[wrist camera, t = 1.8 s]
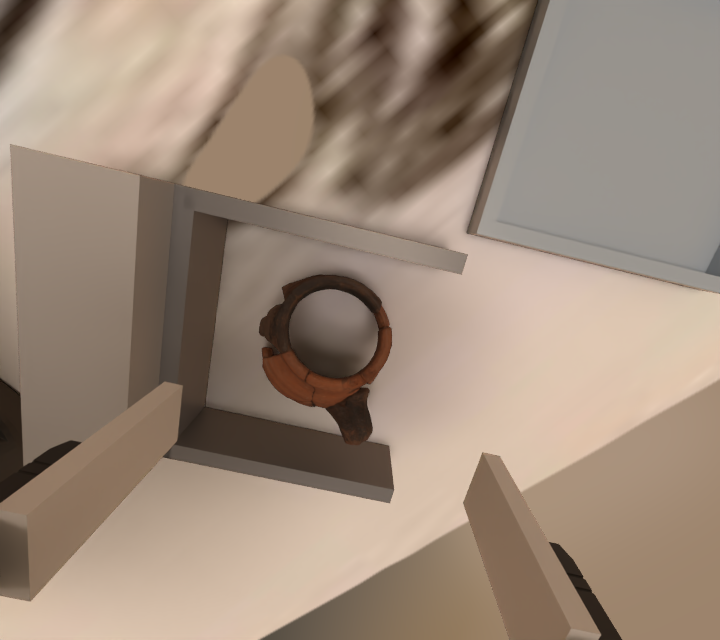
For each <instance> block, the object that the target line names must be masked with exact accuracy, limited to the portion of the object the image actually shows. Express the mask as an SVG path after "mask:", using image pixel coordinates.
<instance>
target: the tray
mask: <svg viewBox="0 0 720 640" xmlns="http://www.w3.org/2000/svg"><path fill="white" fill-rule="evenodd" d="M467 233H468V234H472V235H476V236H480V237H484V238H488V239H493V240H497V241H501V242H505V243H509V244H513V245H517V246H521V247H525V248H529V249H533V250H538V251H542V252H546V253H550V254H554V255H558V256H562V257H566V258H570V259H574V260H578V261H583V262H587V263H591V264H595V265H599V266H603V267H607V268H611V269H615V270H619V271H623V272H628V273H632V274H636V275H640V276H644V277H648V278H652V279H656V280H660V281H664V282H668V283H673V284H677V285H681V286H685V287H689V288H693V289H697V290H702V291H707V292H713V293H718V294H720V0H538V3H537V6H536V9H535V13H534V16H533V19H532V22H531V26H530V29H529V32H528V35H527V39H526V42H525V45H524V48H523V52H522V55H521V58H520V61H519V65H518V68H517V71H516V74H515V78H514V81H513V84H512V87H511V91H510V94H509V97H508V100H507V104H506V107H505V110H504V113H503V117H502V120H501V123H500V126H499V130H498V133H497V136H496V139H495V143H494V146H493V149H492V152H491V156H490V159H489V162H488V165H487V169H486V172H485V175H484V178H483V182H482V185H481V188H480V191H479V195H478V198H477V201H476V204H475V208H474V211H473V214H472V217H471V221H470V224H469V227H468V230H467Z"/></svg>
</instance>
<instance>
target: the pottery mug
mask: <svg viewBox="0 0 720 640" xmlns="http://www.w3.org/2000/svg"><path fill="white" fill-rule="evenodd" d="M325 289H337V290H340V291H344V292H347V293H349V294H352V295H354V296H355V297H357V298H358V299H359V300H361V301H362V302H363V303H364V304H365V305H366V306H367V307H368V308H369V309H370V311H371V312H372V313H373V314H374V316H375V318H376V321H377V324H378V328H379V331H378V343H377V348H376V351H375V353H374V356H373V357H372V359H371V361H370V362H369V363H368V364H367V366H366V367H365V368H363V369H362V370H360V371H359V372H358V373H357V374H354V375H352V376H349V377H344V378H328V377H324V376H321V375H318V374H316V373H314V372H313V371H311V370H310V369H308V368H307V367H306V366H305V365H304V364H303V363H302V362H301V361H300V360H299V359H298V357H297V356H296V354H295V352H294V350H293V349H292V347H291V344H290V339H289V323H290V319H291V315H292V313H293V311H294V309H295V307H296V306H297V304H298V303H299V302H300V301H301V300H302V299H303V298H305V297H306V296H308V295H309V294H311V293H313V292H316V291H320V290H325ZM282 290H283V294H284V298H285V301H284V302H283V304H280V305H276V306H275V307H273V308H272V309H271V310H270V311H269V312H268V314H267V316H266V317H264V318H262V320H261V322H260V328H259V334H260V335H261V336H264V337H265V338H266V339H267V341H268V342H270V343H271V344H272V345H273V346H274V347H275V348H276V349H277V350H278V351H279V352H280V353H279V354H277V355H273V352H272V349H271V348H267V347H264V348H262V356H263V359H262V360H263V369H264V371H265V373H266V376H267V378H268V380H269V381H270V382H271V384H272V385H273V386H274V387H275V388H276V389H277V390H278V391H279V392H280V393H281V394H283V395H284V396H286V397H287V398H290V399H292V400H294V401H296V402H298V403H300V404H303V405H306V406H310V407H315V406H318V407H322V408H325V409H326V410H327V411H328V412H329V413H330V414H331V415H332V417H333V418H334V419H335V421H336V422H337V424H338V425H339V428H340V431H341V433H342V436H343V439H344V441H345V443H346V444H349V445H360V444H361V443H362V442H364V441H366V440H368V438H369V436H370V435H371V433H372V430H373V427H372V422H371V417H370V413H369V410H368V407H367V397H368V394H369V389H368V388H360V387H361V386H363V385H365V384H366V383H367V384H371V383H372V382H373V381H374V379H375V378H376V376H377V374H378V373H379V371H380V370H381V369H382V367H383V366H384V364H385V363H386V361H387V358H388V356H389V353H390V349H391V346H392V330H391V328H390V327H389V320H388V318H387V315H386V313H385V311H384V309H383V307H382V302H381V300H380V299H379V297H378V296H376V294H375V293H374V292H373V291H371V290H370V289H368V288H367V287H366V286H365V285H363V284H362V283H360V282H358V281H356V280H354V279H350V278H347V277H341V276H337V275H316V276H311V277H308V278H305V279H302V280H299V281H296V282H293V283H289V284H287V285H285V286H283V287H282Z"/></svg>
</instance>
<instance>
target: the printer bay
mask: <svg viewBox="0 0 720 640" xmlns="http://www.w3.org/2000/svg"><path fill="white" fill-rule="evenodd" d="M10 151H11V175H12V199H13V224H14V248H15V272H16V296H17V321H18V345H19V369H20V393H21V417H22V442H23V466H25V465H27V464H28V463H32V461H33V460H34V459H35V458H37V457H38V456H40V455H41V454H43V453H44V452H46V451H47V450H49V449H50V448H52V447H55V446H57V445H60V444H62V443H65V442H67V441H69V440H73V441H78V442H84V441H85V440H86V439H88V438H89V437H90V436H92V435H93V434H94V433H96V432H97V431H99V430H100V429H101V428H103V427H104V426H105V425H107V424H108V423H109V422H111V421H112V420H113V419H115V418H116V417H117V416H119V415H120V414H121V413H123V412H124V411H126V410H127V409H128V408H130V407H131V406H132V405H134V404H135V403H136V402H138V401H139V400H140V399H142V398H143V397H144V396H146V395H147V394H149V393H150V392H151V391H153V390H154V389H155V388H157V387H158V386H159V385H161V384H162V383H163V382H169V383H174V384H178V385H183V388H182V398H181V408H180V418H179V428H178V438H177V442H176V443H175V444H174V445H173V446H172V447H171V448H170V449H169V450H168V451H167V453H166V454H165V455H164V456H163V457H165V458H170V459H175V460H179V461H184V462H189V463H194V464H199V465H204V466H209V467H214V468H219V469H224V470H229V471H234V472H239V473H243V474H248V475H253V476H258V477H263V478H268V479H273V480H278V481H283V482H288V483H293V484H298V485H302V486H307V487H312V488H317V489H322V490H327V491H332V492H337V493H342V494H347V495H352V496H357V497H362V498H366V499H371V500H376V501H381V502H386V503H390V501H391V498H392V495H393V492H394V485H393V476H392V467H391V458H390V449H389V446H387V445H382V444H377V443H372V442H368V441H364V442H362V443H361V444H360V445H349V444H346V443H345V441H344V439H343V436H339V435H334V434H330V433H325V432H320V431H316V430H311V429H306V428H301V427H297V426H292V425H287V424H282V423H278V422H273V421H268V420H264V419H259V418H254V417H249V416H245V415H240V414H235V413H230V412H226V411H221V410H216V409H211V408H207V407H205V402H206V394H207V385H208V377H209V369H210V361H211V353H212V345H213V336H214V328H215V320H216V312H217V304H218V295H219V287H220V279H221V271H222V263H223V255H224V246H225V238H226V230H227V222H228V219H231V220H235V221H239V222H243V223H247V224H252V225H256V226H260V227H264V228H268V229H273V230H277V231H281V232H285V233H289V234H294V235H298V236H302V237H306V238H310V239H315V240H319V241H323V242H327V243H331V244H335V245H340V246H344V247H348V248H352V249H356V250H361V251H365V252H369V253H373V254H377V255H382V256H386V257H390V258H394V259H398V260H403V261H407V262H411V263H415V264H419V265H424V266H428V267H432V268H436V269H440V270H445V271H449V272H453V273H457V274H461V275H462V272H463V268H464V265H465V262H466V259H467V256H468V254H464V253H460V252H456V251H452V250H448V249H444V248H440V247H436V246H432V245H427V244H423V243H419V242H415V241H411V240H407V239H403V238H398V237H394V236H390V235H386V234H382V233H378V232H374V231H369V230H365V229H361V228H357V227H353V226H349V225H345V224H340V223H336V222H332V221H328V220H324V219H320V218H316V217H311V216H307V215H303V214H299V213H295V212H291V211H287V210H282V209H278V208H274V207H270V206H266V205H262V204H258V203H253V202H249V201H245V200H241V199H237V198H233V197H228V196H224V195H220V194H216V193H212V192H208V191H203V190H199V189H195V188H191V187H187V186H183V185H179V184H175V183H171V182H166V181H162V180H158V179H154V178H150V177H146V176H142V175H137V174H133V173H129V172H125V171H121V170H117V169H112V168H108V167H104V166H100V165H95V164H91V163H87V162H83V161H79V160H74V159H70V158H66V157H62V156H58V155H53V154H49V153H45V152H41V151H37V150H32V149H28V148H24V147H20V146H15V145H11V144H10Z"/></svg>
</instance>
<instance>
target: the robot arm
mask: <svg viewBox="0 0 720 640" xmlns="http://www.w3.org/2000/svg"><path fill="white" fill-rule="evenodd" d="M182 388H183V385H178V384H174V383H169V382H163V383H162V384H161V385H159V386H158V387H157V388H155V389H154V390H153V391H151V392H150V393H149V394H147V395H146V396H144V397H143V398H142V399H140V400H139V401H138V402H136V403H135V404H134V405H132V406H131V407H130V408H128V409H127V410H126V411H124V412H123V413H121V414H120V415H119V416H117V417H116V418H115V419H113V420H112V421H111V422H109V423H108V424H107V425H105V426H104V427H103V428H101V429H100V430H99V431H97V432H96V433H94V434H93V435H92V436H90V437H89V438H88V439H86V440H85V441H84V442H78V441H73V440H69V441H67V442H65V443H62V444H60V445H57V446H55V447H52V448H50V449H49V450H47V451H46V452H44V453H43V454H41V455H40V456H38V457H37V458H35V459H34V460H33V461H32V463H28V464H27V465H25V466H23V442H22V417H21V397H20V396H19V395H18V394H17V393H16V392H15V391H13V390H12V389H11V388H10V387H8V386H7V385H6V384H4V383H3V382H1V381H0V596H5V597H10V598H15V599H20V600H25V601H31V600H32V599H33V598H34V597H35V596H36V595H37V594H38V593H39V592H40V590H41V589H42V588H43V587H44V586H45V585H46V584H47V583H48V582H49V581H50V580H51V578H52V577H53V576H54V575H55V574H56V573H57V572H58V571H59V570H60V569H61V567H62V566H63V565H64V564H65V563H66V562H67V561H68V560H69V559H70V558H71V557H72V555H73V554H74V553H75V552H76V551H77V550H78V549H79V548H80V547H81V546H82V545H83V543H84V542H85V541H86V540H87V539H88V538H89V537H90V536H91V535H92V534H93V532H94V531H95V530H96V529H97V528H98V527H99V526H100V525H101V524H102V523H103V522H104V520H105V519H106V518H107V517H108V516H109V515H110V514H111V513H112V512H113V511H114V509H115V508H116V507H117V506H118V505H119V504H120V503H121V502H122V501H123V500H124V499H125V497H126V496H127V495H128V494H129V493H130V492H131V491H132V490H133V489H134V488H135V486H136V485H137V484H138V483H139V482H140V481H141V480H142V479H143V478H144V477H145V476H146V474H147V473H148V472H149V471H150V470H151V469H152V468H153V467H154V466H155V465H156V464H157V462H158V461H159V460H160V459H161V458H162V457H163V456H164V455H165V454H166V453H167V451H168V450H169V449H170V448H171V447H172V446H173V445H174V444H175V443H176V442H177V438H178V428H179V418H180V408H181V398H182ZM463 504H464V507H465V510H466V513H467V516H468V519H469V522H470V525H471V528H472V531H473V534H474V537H475V539H476V542H477V545H478V548H479V551H480V554H481V557H482V560H483V563H484V566H485V569H486V572H487V575H488V578H489V581H490V584H491V587H492V590H493V592H494V596H495V599H496V601H497V605H498V607H499V610H500V613H501V616H502V619H503V622H504V625H505V628H506V631H507V634H508V637H509V640H622V639H621V637H620V635H619V634H618V632H617V631H616V629H615V627H614V626H613V624H612V622H611V621H610V619H609V617H608V616H607V614H606V613H605V611H604V609H603V608H602V606H601V604H600V603H599V601H598V600H597V598H596V596H595V595H594V594H593V593H592V590H591V588H590V587H589V585H588V583H587V582H586V580H585V579H583V575H582V574H581V572H580V570H579V569H578V567H577V565H576V564H575V562H574V560H573V559H572V558H571V557H570V556H569V555H568V554H567V553H566V552H565V550H564V549H563V548H562V547H561V546H560V545H559V544H556V543H551V542H548V540H547V538H546V537H545V535H544V533H543V531H542V530H541V528H540V526H539V524H538V523H537V521H536V519H535V517H534V516H533V514H532V512H531V510H530V509H529V507H528V505H527V503H526V501H525V500H524V498H523V496H522V494H521V493H520V491H519V489H518V487H517V486H516V484H515V482H514V480H513V479H512V477H511V475H510V473H509V472H508V470H507V468H506V466H505V465H504V463H503V461H502V459H501V458H500V456H497V455H492V454H488V453H482V455H481V458H480V461H479V463H478V466H477V468H476V471H475V474H474V476H473V479H472V481H471V484H470V487H469V489H468V492H467V494H466V497H465V500H464V502H463Z"/></svg>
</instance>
